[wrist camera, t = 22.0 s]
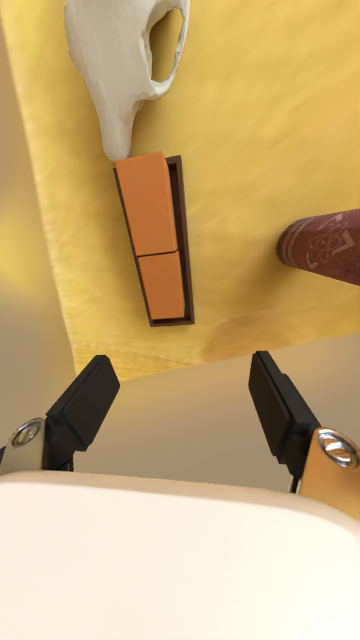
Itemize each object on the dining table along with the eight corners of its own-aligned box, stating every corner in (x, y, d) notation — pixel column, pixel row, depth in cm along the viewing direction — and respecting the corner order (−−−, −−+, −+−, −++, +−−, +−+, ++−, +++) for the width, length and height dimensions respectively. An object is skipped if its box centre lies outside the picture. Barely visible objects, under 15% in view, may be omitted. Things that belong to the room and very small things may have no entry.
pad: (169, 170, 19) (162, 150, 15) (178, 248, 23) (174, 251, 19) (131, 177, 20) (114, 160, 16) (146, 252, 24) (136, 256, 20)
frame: (181, 162, 19) (180, 154, 17) (194, 319, 29) (194, 324, 28) (119, 174, 20) (112, 168, 18) (153, 321, 30) (150, 327, 29)
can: (283, 274, 25) (375, 311, 12) (269, 237, 22) (364, 236, 10) (326, 251, 23) (487, 267, 10) (315, 207, 20) (504, 161, 8)
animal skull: (73, 148, 19) (-37, 13, 10) (125, -27, 16) (35, -529, 6) (146, 193, 20) (114, 113, 11) (211, 39, 17) (252, -293, 7)
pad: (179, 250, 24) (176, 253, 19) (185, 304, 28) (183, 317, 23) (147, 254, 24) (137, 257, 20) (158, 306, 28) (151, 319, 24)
